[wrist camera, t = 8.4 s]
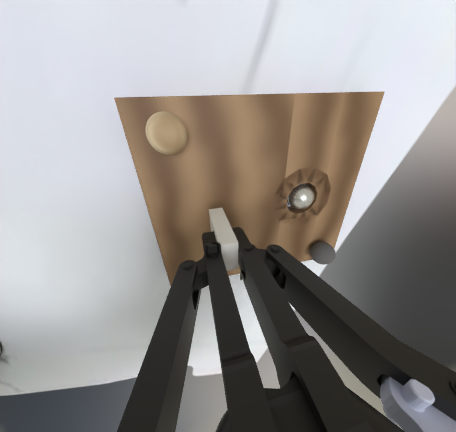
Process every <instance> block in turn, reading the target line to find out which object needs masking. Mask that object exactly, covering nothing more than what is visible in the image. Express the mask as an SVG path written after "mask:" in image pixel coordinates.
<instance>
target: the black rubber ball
mask: <svg viewBox="0 0 456 432" xmlns="http://www.w3.org/2000/svg"><path fill="white" fill-rule="evenodd" d="M310 255H311V257H312V259H313V260H314V261H315V262H317V263H319V264H329V263H331V262H332V261H333V260H334V258H335V250H334V248H333V247H332V246H331V245H330V244H328V243H326V242H317V243H315V244H313V245H312V247H311V249H310Z"/></svg>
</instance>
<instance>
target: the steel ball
mask: <svg viewBox="0 0 456 432" xmlns="http://www.w3.org/2000/svg"><path fill="white" fill-rule="evenodd" d="M313 200H314V192H313V190H312V189H311V188H310V187H309V186H307V185H304V184H300V185H298V186H297V187H295V188H294V189H292V191H291V193H290V194H289V196H288V202H289V204H290V205H291V206H292V207H294V208H296V209H304V208H307V207H309V206H310V205H311V204H312V202H313Z"/></svg>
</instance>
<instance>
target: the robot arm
mask: <svg viewBox="0 0 456 432" xmlns="http://www.w3.org/2000/svg"><path fill="white" fill-rule="evenodd" d="M209 217H210V227H211V232H205V233H203V235H202V242H203V250H204V256H203V258H202V259H200V260H199V261H197V262H195V261H193V260H186V261H184V262H182V263H181V264H180V265H179V267H178V269H177V272H176V275H175V277H174V280H173V283H172V285H171V288H170V291H169V294H168V296H167V299H166V302H165V304H164V307H163V310H162V312H161V315H160V318H159V320H158V323H157V326H156V328H155V331H154V334H153V336H152V339H151V342H150V344H149V347H148V350H147V352H146V355H145V358H144V361H143V363H142V366H141V369H140V371H139V374H138V377H137V379H136V382H135V385H134V388H133V390H132V393H131V396H130V398H129V401H128V403H127V406H126V409H125V412H124V414H123V417H122V420H121V422H120V425H119V428H118V431H117V432H175V430H176V425H177V419H178V413H179V408H180V402H181V397H182V392H183V386H184V381H185V375H186V369H187V364H188V359H189V353H190V348H191V343H192V337H193V332H194V326H195V321H196V315H197V310H198V304H199V299H200V293H201V289H202V288H204V287H206V286H208V285H209V290H210V296H211V303H212V309H213V316H214V323H215V329H216V336H217V342H218V349H219V355H220V362H221V368H222V375H223V382H224V388H225V395H226V402H227V408H228V410H227V411H226V413H225V414H224V415H223V417H222V419H221V421H220V423H219V425H218V427H217V430H216V432H456V372H454V371H452V370H450V369H448V368H447V367H445V366H443V365H442V364H440V363H438V362H436V361H434V360H433V359H431V358H429V357H427V356H425V355H424V354H422V353H420V352H418V351H416V350H415V349H413V348H411V347H410V346H408V345H406V344H404V343H402V342H400V341H399V340H397V339H396V338H395V337H394V336H392V335H391V334H390V333H388V332H387V331H386V330H385V329H384V328H382V327H381V326H380V325H379V324H377V323H376V322H375V321H374V320H372V319H371V318H370V317H368V316H367V315H366V314H365V313H363V312H362V311H361V310H360V309H359V308H357V307H356V306H355V305H353V304H352V303H351V302H350V301H348V300H347V299H346V298H345V297H343V296H342V295H341V294H340V293H338V292H337V291H336V290H335V289H333V288H332V287H331V286H330V285H328V284H327V283H326V282H325V281H323V280H322V279H321V278H320V277H318V276H317V275H316V274H315V273H313V272H312V271H311V270H310V269H308V268H307V267H306V266H305V265H303V264H302V263H301V262H300V261H298V260H297V259H296V258H295V257H293V256H292V255H291V254H290V253H288V252H287V251H286V250H285V249H283V248H282V247H281V246H279V245H275V244H272V245H269V246H267V248H266V249H258V248H256V247H255V245H253V244H251V243H250V241H249V239H248V238H247V236H246V234H245V232H244V231H243V229H242V228H240V227H235V228H231V226H230V223H229V221H228V219H227V217H226V215H225V213H224V210H223V208H215V209H209ZM239 266H240V279H241V280H242V279H243V281H244V284H245V287H246V289H247V292H248V295H249V297H250V300H251V303H252V305H253V308H254V311H255V313H256V316H257V319H258V321H259V324H260V327H261V329H262V332H263V335H264V338H265V340H266V343H267V346H268V348H269V351H270V353H271V356H272V359H273V361H274V364H275V367H276V371H277V376H278V381H279V384H280V389H269V388H263V384H262V381H261V378H260V375H259V371H258V368H257V365H256V362H255V359H254V356H253V354H252V353H251V351H250V349H249V345H248V342H247V339H246V335H245V332H244V328H243V325H242V321H241V318H240V315H239V311H238V308H237V304H236V301H235V298H234V294H233V291H232V287H231V284H230V280H229V277H228V274H227V271H230V270H235V269H239ZM289 303H290V304H291V305H292V306H293V307H294V308H295V309H296V311H297V312H298V313H299V314H300V315H301V316H302V317H303V318H304V319H305V321H306V322H307V323H308V324H309V325H310V326H311V327H312V328H313V330H314V331H315V332H316V333H317V334H318V335H319V336H320V337H321V338H322V339H323V341H324V342H325V343H326V344H327V345H328V346H329V347H330V349H331V350H332V351H333V352H334V353H335V354H336V355H337V356H338V357H339V359H340V360H341V361H342V362H343V363H344V364H345V365H346V366H347V367H348V368H349V370H350V371H351V372H352V373H353V374H354V375H355V376H356V377H357V378H358V379H359V380H360V381H361V382H362V383H363V384H364V385H365V386H366V387H367V388H369V390H371V391H372V392H373V393H374V394H375V395H376V396H378V397H379V398H380V399H381V401H382V404H383V410H384V412H385V414H386V416H387V417H388V418H389V419H390V420H389V419H388V418H387V417H385V416H384V415H383V414H381V413H380V412H379V411H377V410H376V409H375V408H373V407H372V406H371V405H369V404H368V403H367V402H366V401H364V400H363V399H362V398H360V397H359V396H358V395H356V394H355V393H354V392H352V391H351V390H350V389H348V388H347V387H346V386H345V385H344V383H343V381H342V380H341V378H340V377H339V375H338V373H337V372H336V370H335V369H334V367H333V365H332V364H331V362H330V360H329V359H328V357H327V356H326V354H325V352H324V351H323V349H322V347H321V346H320V344H319V343H318V341H317V340H316V339H315V338H314V337H313V336H309V335H308V334H307V333H306V331H305V330H304V328H303V326H302V325H301V323H300V321H299V320H298V318H297V316H296V314H295V313H294V311H293V309H292V308H291V306H290V304H289ZM0 355H1V346H0ZM394 423H395V424H394ZM396 424H397V425H399V426H400V427H401V428H402V429H403V430H402V429H401V428H400V427H398V426H397V425H396Z"/></svg>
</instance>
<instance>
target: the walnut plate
mask: <svg viewBox="0 0 456 432" xmlns="http://www.w3.org/2000/svg"><path fill="white" fill-rule="evenodd" d="M383 95H384V92H345V93H300V94H256V95H212V96H168V97H124V98H114V99H115V102H116V105H117V109H118V112H119V115H120V119H121V122H122V125H123V129H124V132H125V135H126V139H127V142H128V145H129V149H130V152H131V155H132V159H133V162H134V165H135V169H136V172H137V175H138V179H139V182H140V185H141V189H142V192H143V195H144V198H145V202H146V205H147V208H148V212H149V215H150V218H151V222H152V225H153V228H154V232H155V235H156V238H157V242H158V245H159V248H160V252H161V255H162V258H163V262H164V265H165V268H166V272H167V275H168V278H169V282H170V285H172V283H173V280H174V277H175V275H176V272H177V269H178V267H179V265H180V264H181V263H182V262H184V261H186V260H193V261H195V262H197V261H199V260H200V259H202V258H203V256H204V250H203V242H202V235H203V233H205V232H211V227H210V217H209V209H215V208H223V210H224V213H225V215H226V217H227V219H228V221H229V223H230V226H231V228H235V227H240V228H242V229H243V231H244V232H245V234H246V236H247V238H248V239H249V241H250V243H251V244H253V245H255V247H256V248H258V249H266V248H267V246H269V245H272V244H275V245H279V246H281V247H282V248H283V249H285V250H286V251H287V252H288V253H290V254H291V255H292V256H293V257H295V258H296V259H297V260H298V261H300V262H302V261H307V260H313V259H312V257H311V255H310V249H311V247H312V245H313V244H315V243H317V242H326V243H328V244H330V245H331V246H332V247H333V248H334V247H335V244H336V241H337V238H338V235H339V232H340V229H341V226H342V223H343V219H344V216H345V213H346V210H347V207H348V204H349V201H350V198H351V195H352V191H353V188H354V185H355V182H356V179H357V176H358V173H359V170H360V167H361V163H362V160H363V157H364V154H365V151H366V148H367V145H368V142H369V139H370V135H371V132H372V129H373V126H374V123H375V120H376V117H377V114H378V111H379V107H380V104H381V101H382V98H383ZM161 111H166V112H170V113H173V114H174V115H176V116H177V117H179V118H180V119H181V121H182V122H183V123H184V125H185V127H186V130H187V142H186V145H185V147H184V148H183V149H182V150H181V151H180V152H179V153H177V154H174V155H165V154H162V153H160V152H158V151H156V150H155V149H154V148H153V147H152V146H151V145H150V143H149V141H148V139H147V136H146V124H147V121H148V119H149V118H150V117H151V116H152V115H153V114H155V113H157V112H161ZM303 183H305V184H306V185H307V186H309V187H310V188H311V189H312V190H313V192H314V200H313V202H312V204H311V205H310V206H309V207H307V208H304V209H296V208H294V207H292V206H290V207H287V198H288V196H289V194H290V193H291V191H292V189H294V188H295V187H297V186H298V185H300V184H303ZM239 273H240V266H239V269H235V270H230V271H227V274H228V276H229V275H234V274H239Z"/></svg>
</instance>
